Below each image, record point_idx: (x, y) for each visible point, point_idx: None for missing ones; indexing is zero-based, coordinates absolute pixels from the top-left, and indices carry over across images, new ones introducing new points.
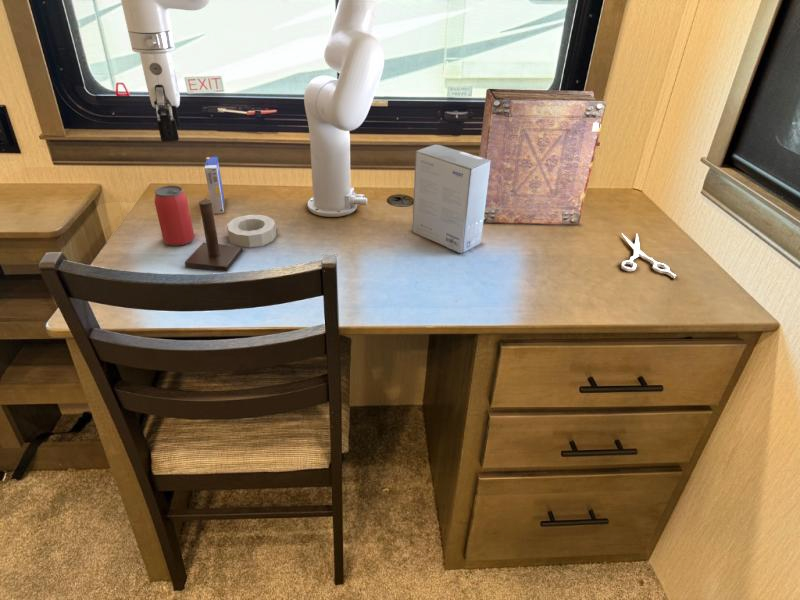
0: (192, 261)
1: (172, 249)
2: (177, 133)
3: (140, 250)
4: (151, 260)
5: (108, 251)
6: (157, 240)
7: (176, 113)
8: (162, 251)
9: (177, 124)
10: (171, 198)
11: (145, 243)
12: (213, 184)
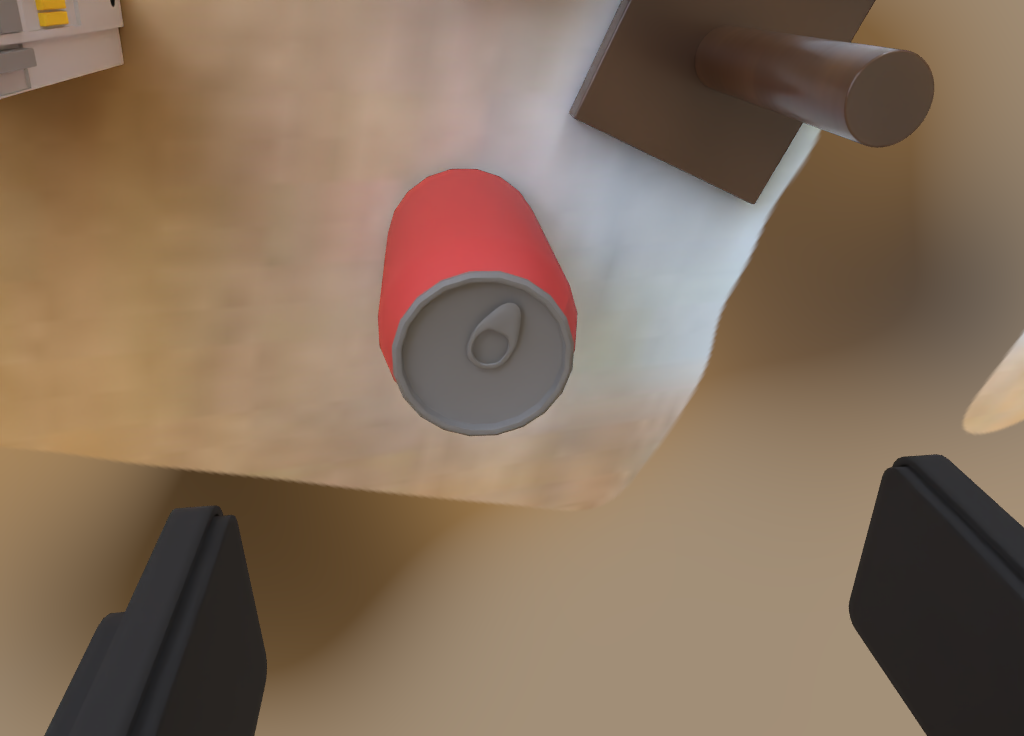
0: (760, 169)
1: None
2: (997, 507)
3: None
4: (630, 342)
5: (504, 502)
6: None
7: (182, 665)
8: None
9: (233, 536)
10: (572, 331)
11: None
12: (33, 37)
